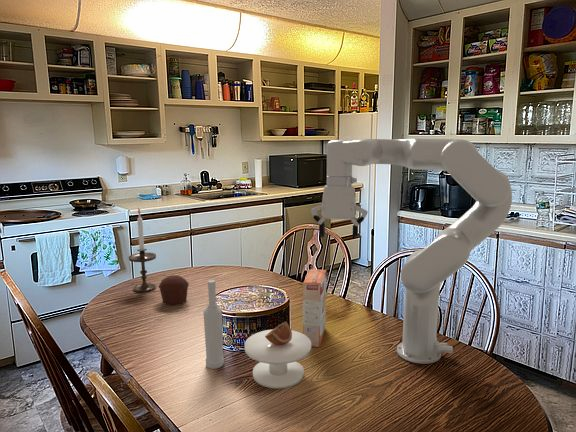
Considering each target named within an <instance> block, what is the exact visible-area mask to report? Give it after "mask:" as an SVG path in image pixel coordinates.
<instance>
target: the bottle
mask: <svg viewBox="0 0 576 432" xmlns="http://www.w3.org/2000/svg"><path fill="white" fill-rule="evenodd" d="M207 290H208V291H207V294H208V303H207V306H206V307H205V308H204V309H203V311H202V312H203V323H204V324H203V325H204V326H203V327H204V328H203V329H204V340H205V357H206V358H205V365H206V368H208V369H211V370H214V369H220V368H221V367H223V366H224V363H225V362H224V361H225V358H224V355H223V354H224V352H223V351H224V350H223V349H224V347H223V340H224V339H223V309H222V307H220V306H218V303H217V295H216V280H215V279H210V280H207Z"/></svg>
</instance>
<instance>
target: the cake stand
mask: <svg viewBox="0 0 576 432" xmlns="http://www.w3.org/2000/svg"><path fill="white" fill-rule="evenodd" d="M273 329H274V328H273ZM273 329H266V330H262V331H259V332H255V333H254V334H252V335H250V336H249V337H248V338H247V339H246V340H245V342H244V352H245V354H246V355H247V356H248V357H249V358H250V359H252V360H254V361H256V362H258V363H257V364H255V366H254V367H253V368H252V379H253V380H254V382H255V383H257V384H258V385H259V386H262V387H264V388H268V389H278V390H279V389H287V388H291V387H294V386H296V385H297V384H299V383H301V381H303V378H304V376H305V370H304V367H303V365H302V364H300V363H299V362H298V361H300V360H303V359H304V358H306V357H307V356H308V355H309V354H310V353H311V351H312V347H311V341H310V339H309V338H308V337H307V336H305V335H304V334H303V332H302V333H301V332H299V331H298V330H297V331H296V330H292V329H291V331H292V339H291V340H290V341H289V342H288V343H286V344H284V345H276V344H273V343H271V342H270V341H268V340H267V339H266V337H265V336H266V335H267V334H268V333H269V332H270V331H272V330H273Z"/></svg>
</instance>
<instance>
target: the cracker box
mask: <svg viewBox="0 0 576 432" xmlns="http://www.w3.org/2000/svg"><path fill="white" fill-rule="evenodd" d="M302 286H303V287H302V290H303V291H302V334H304V335H305V336H307V337H308V338H309V339H310V341H311V348H321V345H322V341H323V337H324V334H325V330H326V311H327V308H326V306H327V305H326V304H327V303H326V302H327V270H326V269H315V268H313V269H312V268H311V269H309V270H308V273H307V275H306V277H305V279H304V281H303V282H302Z"/></svg>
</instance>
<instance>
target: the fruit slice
mask: <svg viewBox="0 0 576 432" xmlns="http://www.w3.org/2000/svg"><path fill="white" fill-rule="evenodd" d="M271 330H272V329H271ZM291 330H292V329H291V326H290V324H289V323H288V322H287V321H284V322H282V323H281V324H279V325H277V326H276V327H274V328H273V330H272V331H270V332H269V333H268V334H267V335H266V336H265V337H266V339H267V340H268V341H270V342H271V343H273V344H276V345H284V344H286V343H288V342H289V341H290V340H291V339H292V331H291Z"/></svg>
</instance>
